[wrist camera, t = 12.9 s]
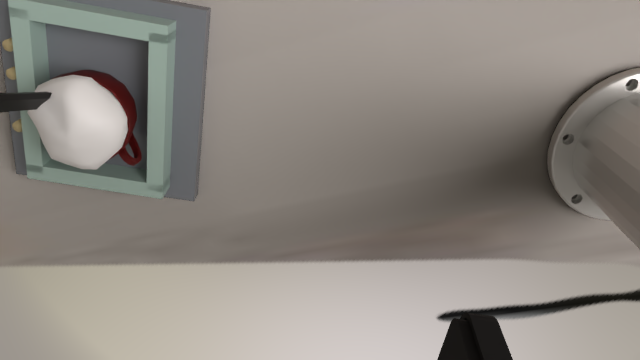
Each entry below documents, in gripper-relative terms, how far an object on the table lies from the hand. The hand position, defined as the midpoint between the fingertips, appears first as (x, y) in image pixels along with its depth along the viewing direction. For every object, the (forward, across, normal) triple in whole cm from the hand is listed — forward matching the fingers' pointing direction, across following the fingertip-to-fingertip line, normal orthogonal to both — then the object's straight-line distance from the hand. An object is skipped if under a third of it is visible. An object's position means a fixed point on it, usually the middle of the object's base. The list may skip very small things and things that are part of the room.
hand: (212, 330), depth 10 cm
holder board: (+28, +14, +6) cm, 32 cm away
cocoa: (+27, +14, +6) cm, 31 cm away
